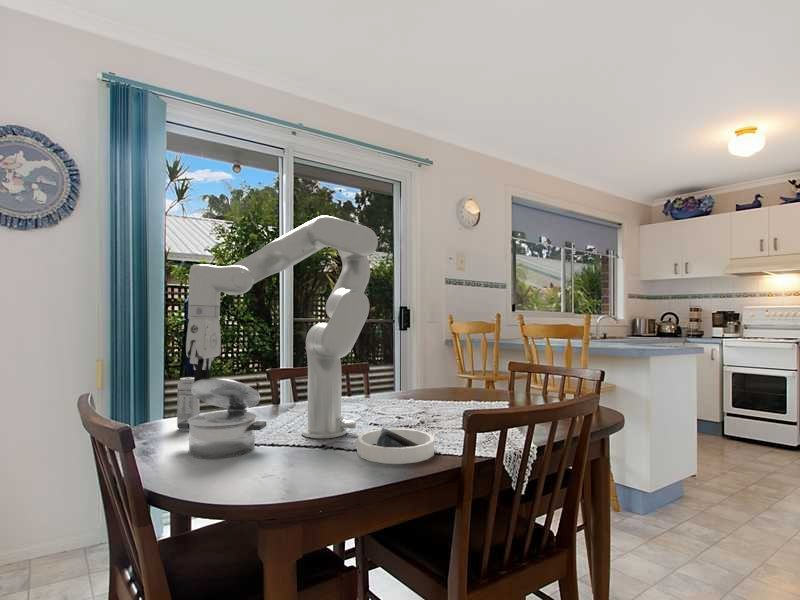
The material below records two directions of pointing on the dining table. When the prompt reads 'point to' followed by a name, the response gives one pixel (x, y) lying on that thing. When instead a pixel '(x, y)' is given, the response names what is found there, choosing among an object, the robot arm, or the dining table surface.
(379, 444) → the dark grey wedge
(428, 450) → the round white tray
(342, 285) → the robot arm
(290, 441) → the dining table surface
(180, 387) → the energy drink can
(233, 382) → the lid
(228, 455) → the pot
